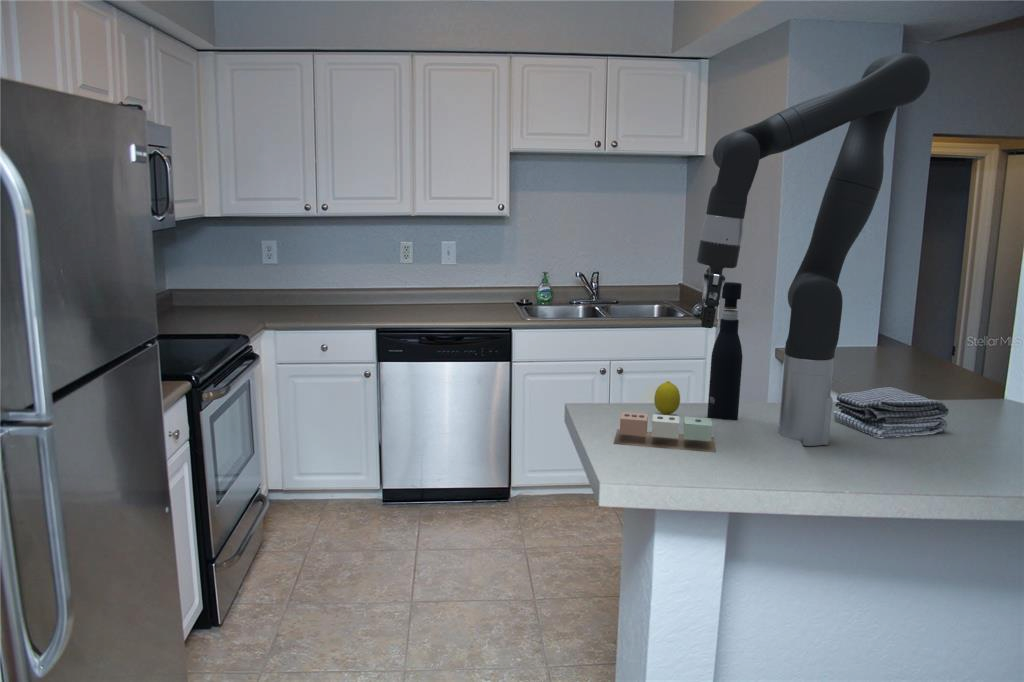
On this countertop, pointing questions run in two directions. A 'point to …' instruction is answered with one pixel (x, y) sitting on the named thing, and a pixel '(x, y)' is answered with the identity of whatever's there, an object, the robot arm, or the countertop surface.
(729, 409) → the wine bottle
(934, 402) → the towel
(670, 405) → the lemon
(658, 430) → the key two
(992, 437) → the countertop surface
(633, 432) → the key three
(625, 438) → the board
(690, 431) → the key one
